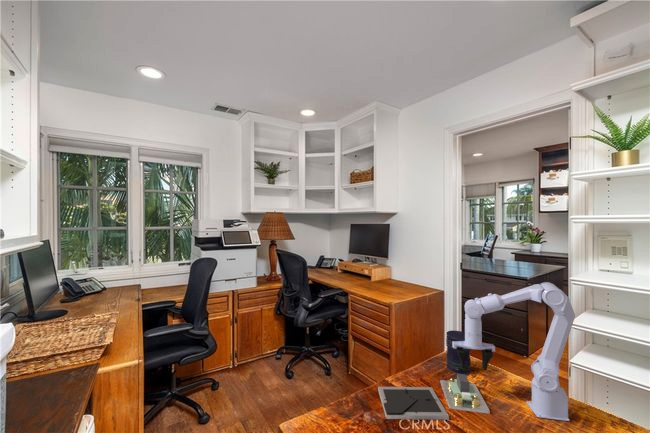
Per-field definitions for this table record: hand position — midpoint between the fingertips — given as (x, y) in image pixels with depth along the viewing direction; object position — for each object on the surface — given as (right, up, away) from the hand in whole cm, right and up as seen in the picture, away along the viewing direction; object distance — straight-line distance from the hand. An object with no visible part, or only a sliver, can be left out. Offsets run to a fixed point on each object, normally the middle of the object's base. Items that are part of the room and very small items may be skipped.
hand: (473, 368), depth 108 cm
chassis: (-5, -10, -2) cm, 11 cm away
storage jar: (+3, -10, +18) cm, 21 cm away
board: (-5, -7, -2) cm, 9 cm away
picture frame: (-26, -11, -6) cm, 28 cm away
